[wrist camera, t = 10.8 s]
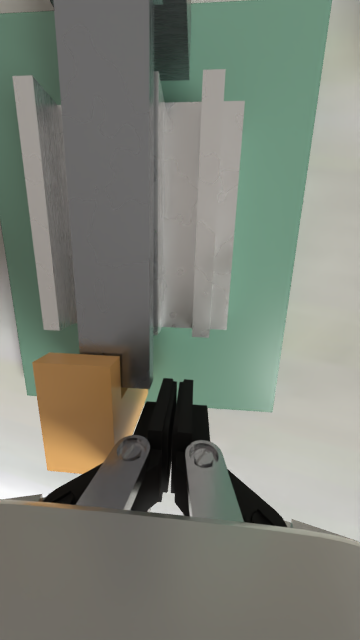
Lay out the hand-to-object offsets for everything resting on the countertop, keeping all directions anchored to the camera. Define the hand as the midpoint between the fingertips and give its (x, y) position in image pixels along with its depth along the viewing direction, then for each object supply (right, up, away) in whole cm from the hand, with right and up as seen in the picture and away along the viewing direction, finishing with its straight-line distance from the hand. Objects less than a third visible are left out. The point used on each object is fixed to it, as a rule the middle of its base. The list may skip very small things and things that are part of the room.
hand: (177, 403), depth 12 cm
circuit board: (-2, +10, +3) cm, 10 cm away
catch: (-4, +2, +3) cm, 5 cm away
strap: (-2, +9, -3) cm, 10 cm away
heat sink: (-2, +12, +1) cm, 12 cm away
